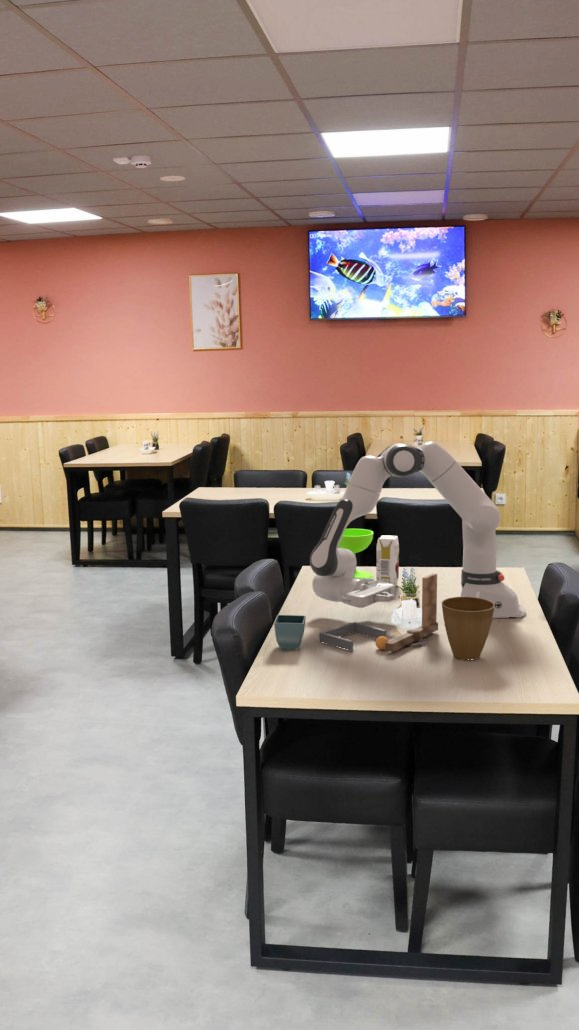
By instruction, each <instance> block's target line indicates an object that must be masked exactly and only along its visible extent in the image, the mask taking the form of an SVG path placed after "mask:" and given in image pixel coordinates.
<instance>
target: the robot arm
mask: <svg viewBox="0 0 579 1030" xmlns="http://www.w3.org/2000/svg"><path fill="white" fill-rule="evenodd" d="M418 472H419V473H420V474H422V475H423V476H424V477H425V478H426V480H428V482H429V483H431V485H432V486H433V487H434V488H435V489H436V490H437V492H438V493H439V494H440V495H441V497H442V498H444V500H445V501H446V502H447V503H448V504H449V505H450V507H452V509H453V510H454V511H455V512H456V513H457V514H458V516H459V517H460V518H461V520H462V521H461V524H462V526H461V527H462V548H463V549H462V550H463V552H462V553H463V555H462V569H461V573H460V574H461V575H460V577H461V578H460V584H461V592H460V597H475V598H481V599H485V600H488V601H491V602H493V603H494V605H495V606H494V612H493V617H492V619H503V618H504V619H507V618H508V619H509V617H516V618H523V617H524V616H526V608H525V607H524V606H522V605H520V601H519V597H518V595H517V593H516V592H515V591H514V590H513V589H512V588H511V587H509V586H508V585H506V584H505V583H504V582H503V581H504V580H505V579H506V578H505V575H504V574H503V573H502V572H501V571H500V570H499V571H498V570H497V560H498V559H497V558H498V557H497V553H498V551H497V549H498V546H497V537H496V535H497V534H496V530H497V528H498V527H499V525H500V521H501V511H500V509H499V507H498V506H497V505H496V504H495V503H494V502H493V501H492V500H491V498H490V497H489V496H488V495H487V494H486V493H485V492H484V490H483V489H482V488H481V487H480V486H479V485H478V484H477V483H476V482H475V481H474V480H473V478H472V477H471V476H470V475H469V474H468V473H467V471H465V469H464V468H463V467H462V466H461V465H460V464H459V462H458V461H457V460H456V459H455V458H454V457H453V455H451V454H450V453H449V452H448V451H447V449H445V448H444V447H442V446H441V445H440V444H438V443H437V442H435V441H427V442H424V443H422V444H421V445H420V446H418V447H415V446H412V445H409V444H406V443H399V442H398V443H394V444H391V445H388V446H387V447H386V448H385V449H384V450H382V452H380V454H378V455H377V456H376V455H365V456H362V457H361V458H360V459H359V460H358V462H357V463H356V465H355V467H354V468H353V471H352V474H351V476H350V478H349V481H348V485H347V487H346V489H345V491H344V494H343V496H342V497H341V499H340V500H339V502H337V504H336V505H335V507H334V509H333V511H332V513H331V515H330V517H329V520H328V521H327V523H326V526H325V528H324V529H323V532H322V534H321V537H320V539H319V541H318V542H317V544H316V546H314V548H313V549H312V551H311V554H310V556H309V564H310V569H311V570H312V572H313V573H314V574H315V576H314V577H313V579H312V585H311V587H312V590H313V592H314V594H315V596H317V597H319V598H320V599H322V600H326V601H329V602H334V603H339V602H340V603H343V604H345V605H347V606H348V605H349V606H351V607H356V608H359V609H361V608H362V609H363V608H366V607H369V606H371V605H373V604H376V603H380V602H382V603H383V602H385V603H390V602H393V601H394V600H395V595H396V586H394V585H393V584H390V583H386V582H382V581H377V580H375V579H374V577H373V578H365V579H359V578H353V577H354V574H355V570H357V565H358V560H357V557H356V553H355V554H354V553H353V552H352V551H351V550H348V549H343V548H339V547H338V545H339V543H340V541H341V538H342V536H343V534H344V532H345V529H347V527H348V526H349V525H350V523H351V522H353V521H354V520H356V519H357V518H360V517H362V516H366V515H368V514H370V513H371V512H373V510H374V509H375V507H376V506H377V504H378V502H379V499H380V496H381V493H382V489H383V485H384V484H385V482H386V480H387V479H388V478H390V477H397V478H406V477H409V476H412V475H413V474H415V473H418ZM522 616H523V617H522Z"/></svg>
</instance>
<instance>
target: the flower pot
mask: <svg viewBox="0 0 579 1030" xmlns="http://www.w3.org/2000/svg"><path fill="white" fill-rule="evenodd" d="M306 618H307V616H306V615H304V614H303V615H299V614H297V615H293V614H277V615H276V617H275V620H274V621H273V625H274V633H275V634H274V635H275V640H276V643H277V645H278V647H279V648H280V649H281V650H283V649H298V650H299V648H300V647H301V643H302V641H303V637H304V634H305V628H306V620H307V619H306Z"/></svg>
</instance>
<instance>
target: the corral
mask: <svg viewBox="0 0 579 1030" xmlns="http://www.w3.org/2000/svg"><path fill="white" fill-rule="evenodd" d="M353 632H354V633H355V632H356V634H359V633H360V634H359V635H363V634H364V635H363V636H366V635H368V636H367V637H370V636H371V638H373V637H375V638H374V639H377V638H378V637H380V636H384V637H386V638H387V630H386V629H383V628H379V627H375V626H371V625H368V624H363V623H361V622H356V621H354V622H349V623H346V624H344V625H340V626H337V627H333V628H331V629H326V630H324V631H320V632H319V634H318V635H319V636H318V637H319V639H318V641H320V642H319V643H321V642H324V643H327V644H331V645H334V646H338V647H341V648H345V649H348V650H353V651H354V640H351V639H348V638H345V637H344V638H343V636H342V635H345V636H347V635H346V634H348V635H350V634H349V633H351V634H354V633H353ZM339 636H342V637H339ZM324 643H323V644H324ZM327 644H326V645H327ZM331 645H330V646H331ZM334 646H333V647H334ZM341 648H340V649H341Z"/></svg>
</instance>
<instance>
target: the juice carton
mask: <svg viewBox="0 0 579 1030" xmlns="http://www.w3.org/2000/svg"><path fill="white" fill-rule="evenodd" d="M399 555H400V543H399V537H398V535H390V534H389V535H380V537H378V539H377V543H376V570H375V571H376V580H375V581H382V582H386V583H390V584H393V585H394V586H395V587H397V585H398V582H399V578H400V577H399V575H400V572H399V568H400V567H399V566H400V563H399V562H400V561H399V560H400V559H399V558H400V556H399Z"/></svg>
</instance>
